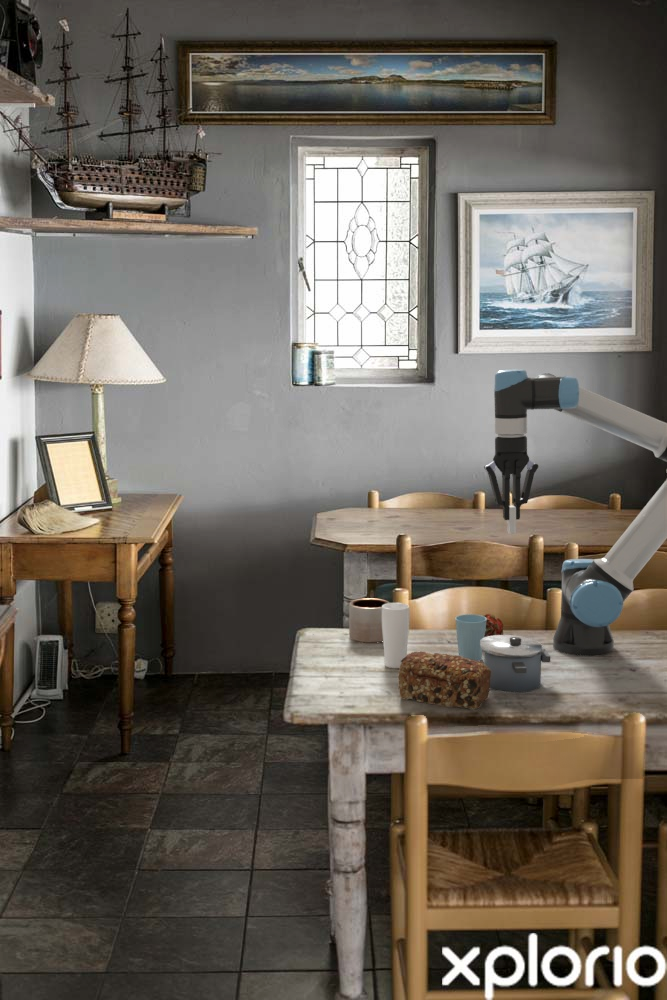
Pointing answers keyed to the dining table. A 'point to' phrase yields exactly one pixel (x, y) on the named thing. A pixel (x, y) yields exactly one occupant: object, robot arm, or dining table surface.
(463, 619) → the cup
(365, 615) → the planter
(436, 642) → the dining table surface
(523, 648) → the lid
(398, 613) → the drinking glass
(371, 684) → the dining table surface
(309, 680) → the dining table surface
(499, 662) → the pot
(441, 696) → the bread
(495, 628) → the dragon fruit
